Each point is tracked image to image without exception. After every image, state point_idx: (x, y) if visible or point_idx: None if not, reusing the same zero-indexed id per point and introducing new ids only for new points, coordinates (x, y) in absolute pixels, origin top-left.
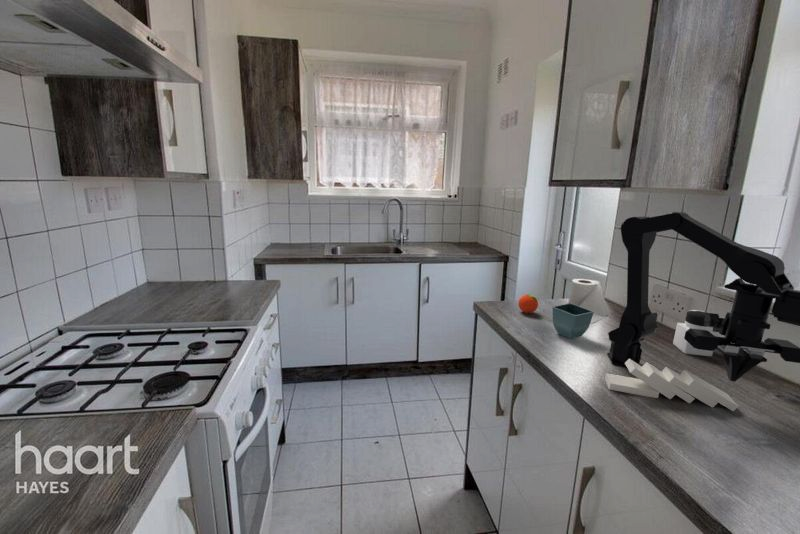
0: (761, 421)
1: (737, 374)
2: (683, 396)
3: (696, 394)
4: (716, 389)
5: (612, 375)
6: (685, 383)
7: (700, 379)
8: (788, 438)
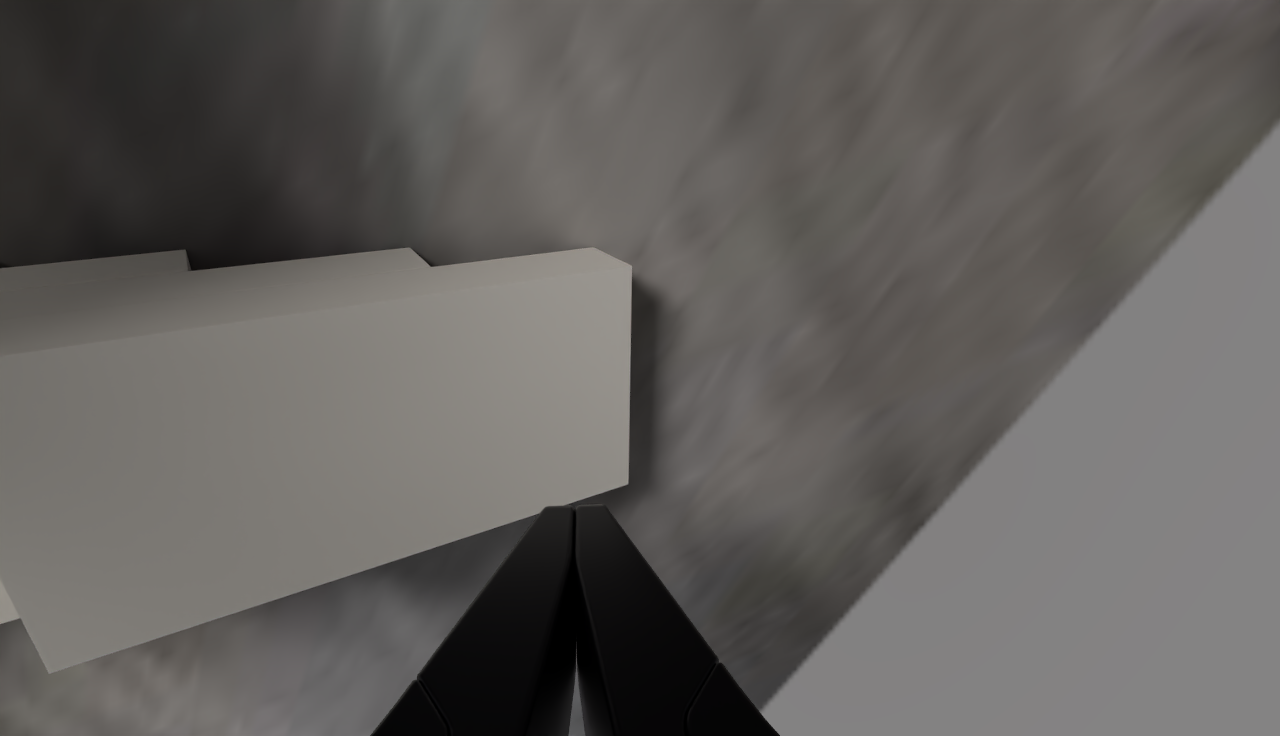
0: (744, 517)
1: (584, 727)
2: None
3: None
4: (477, 367)
5: None
6: (9, 618)
7: (248, 369)
8: (793, 647)
